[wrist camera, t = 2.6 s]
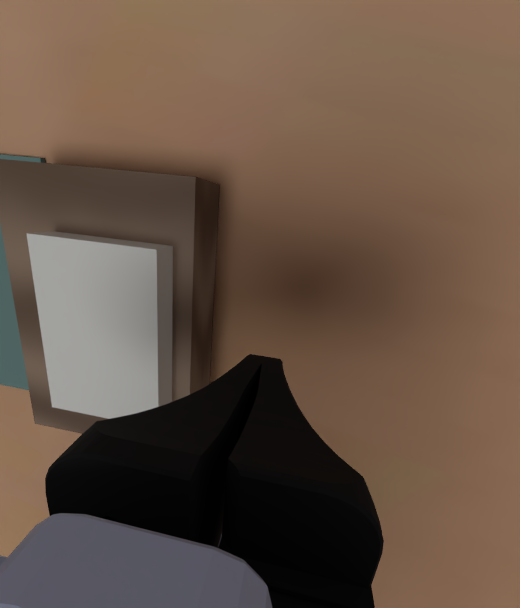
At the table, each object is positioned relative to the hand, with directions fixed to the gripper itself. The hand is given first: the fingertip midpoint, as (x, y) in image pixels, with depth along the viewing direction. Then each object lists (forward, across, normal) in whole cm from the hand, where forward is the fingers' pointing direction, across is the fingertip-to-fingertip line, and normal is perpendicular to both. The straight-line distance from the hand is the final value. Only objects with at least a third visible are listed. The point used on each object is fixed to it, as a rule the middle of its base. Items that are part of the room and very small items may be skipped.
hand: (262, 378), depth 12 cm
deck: (+6, +9, 0) cm, 11 cm away
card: (+3, +8, 0) cm, 8 cm away
